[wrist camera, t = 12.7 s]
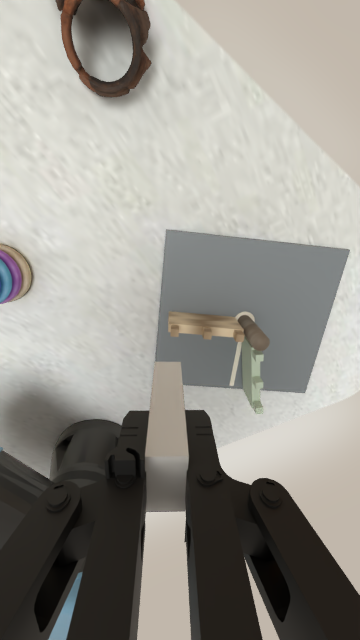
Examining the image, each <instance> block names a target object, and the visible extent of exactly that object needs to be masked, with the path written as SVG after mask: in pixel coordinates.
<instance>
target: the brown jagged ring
mask: <svg viewBox="0 0 360 640" xmlns="http://www.w3.org/2000/svg"><path fill="white" fill-rule="evenodd" d="M81 1H82V0H56V3H57V7H58V9H59V11H62V14H61V31H62V40H63V44H64V48H65V51H66V53H67V57H68V59H69V60H70V62H71V64H72V66H73V68H74V69H75V70H76V71H77V73H78V74H79V78H80V80H81V81H82V82H83V83H84V84H85V85H86V86H87V87H88V88H89V89H91V90H92V91H94V92H96V93H97V94H98V95H100V96H105V97H119V96H122V95H125V94H128V93H129V91H130V89H134V88H135V87H136V86H137V84H138V83H139V81H140V79H141V77H142V76H143V74H144V73H145V72H146V70H147V69H148V68H149V66H150V65H151V61H150V60H149V58H148V57H147V55H146V54H145V52H144V51H143V49H142V46H143V45H144V44H145V43H146V41H147V39H148V30H149V28H150V21H149V17H148V14H147V12H146V11H141V10H143V9H144V6H145V2H144V0H135V2H136V3H137V5H138V6H139V8H140V9H141V10H140V9H139V8H138V7H135V6H133V5H131V4H130V3H128V2H126V1H125V0H108V1H110V2H111V3H113V4H114V5H115V6H116V7H117V8H118V9H119V10H120V11H121V13H122V14H123V16H124V17H125V19H126V21H127V23H128V26H129V28H130V32H131V36H132V41H133V58H132V62H131V65H130V67H129V69H128V71H127V72H126V74H125V75H124V76H123V77H122V78H120V79H119V80H116V81H113V82H105V81H101V80H99V79H97V78H95V77H93V76H90V75H89V74H88V73H87V72H86V71H85V70H84V68H83V67H82V65H81V62H80V60H79V58H78V56H77V54H76V51H75V49H74V45H73V41H72V33H71V25H72V19H73V15H76V12H77V9H78V7H79V5H80V3H81Z"/></svg>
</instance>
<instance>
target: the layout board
mask: <svg viewBox="0 0 360 640" xmlns="http://www.w3.org/2000/svg"><path fill="white" fill-rule="evenodd" d="M349 251H350V250H347V249H338V248H329V247H320V246H310V245H301V244H292V243H283V242H274V241H265V240H256V239H247V238H238V237H229V236H220V235H211V234H201V233H192V232H183V231H174V230H166V238H165V250H164V263H163V275H162V287H161V299H160V311H159V323H158V335H157V348H156V360H155V362H181V371H182V383H183V385H193V386H208V387H223V388H237V389H243V377H242V342H236V341H235V340H234V338H233V337H222V336H212V337H211V340H209V339H203V336H202V335H198V334H186V333H179V336H178V337H171V335H170V332H168V316H169V311H172V312H184V313H195V314H207V315H218V316H229V317H235V318H236V320H238V318H239V317H240V316H242V315H248V316H249V317H250V318H251V319H252V320H253V321H254V322H255V323H256V324H257V326H258V327H259V328H260V329H261V330H262V331H263V332H264V334H265V335H266V336H267V337H268V338H269V340H270V344H269V346H268V348H267V349H265V350H263V351H261V352H262V353H263V354H264V358H263V361H261V362H260V377H261V379H262V381H263V388H262V389H260V390H267V391H282V392H297V393H305V391H306V388H307V385H308V382H309V378H310V375H311V372H312V369H313V366H314V362H315V359H316V356H317V353H318V350H319V347H320V343H321V340H322V337H323V334H324V331H325V328H326V324H327V321H328V318H329V315H330V312H331V309H332V305H333V302H334V299H335V296H336V293H337V289H338V286H339V283H340V280H341V277H342V274H343V270H344V267H345V264H346V261H347V258H348V255H349Z"/></svg>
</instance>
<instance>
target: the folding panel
mask: <svg viewBox="0 0 360 640" xmlns="http://www.w3.org/2000/svg"><path fill="white" fill-rule="evenodd" d="M263 358H264V354H263V353H262V352H261V351H257V350H255V349H254V348H253V347H252V345H251V344H250V342H249V341H248V339H247V338H246V336H244V341H243V342H242V377H243V389H244V392H245V394H246V396H247V398H248V401H249V403H250V405H251V407H252V408H254V411H255V413H256V414H261V413H263V406H262V404H261V402H260V389H262V388H263V381H262V379H261V377H260V362H261V361H263Z"/></svg>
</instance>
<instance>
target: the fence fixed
mask: <svg viewBox="0 0 360 640" xmlns="http://www.w3.org/2000/svg"><path fill="white" fill-rule="evenodd" d="M168 332H170V335H171V337H178V336H179V333H186V334H198V335H202V336H203V339H209V340H211V337H212V336H222V337H233V338H234V340H235V341H236V342H243V341H244V336H246V338H247V339H248V341H249V342H250V344H251V345H252V347H253V348H254V349H255V350H257V351H263V350H265V349H267V348H268V346H269V344H270V340H269V338H268V337H267V336H266V335H265V334H264V332H263V331H262V330H261V329H260V328H259V327H258V326H257V324H256V323H255V322H254V321H253V320H252V319H251V318H250V317H249V316H248V315H242V316H240V317H239V318H238V320H236V318H235V317H229V316H218V315H207V314H195V313H184V312H172V311H169V316H168Z"/></svg>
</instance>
